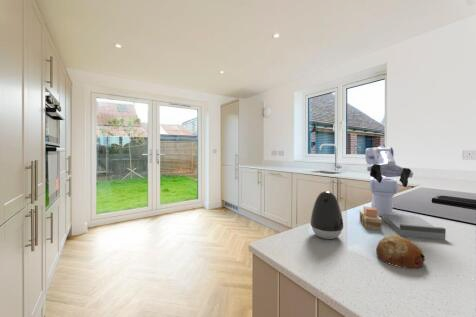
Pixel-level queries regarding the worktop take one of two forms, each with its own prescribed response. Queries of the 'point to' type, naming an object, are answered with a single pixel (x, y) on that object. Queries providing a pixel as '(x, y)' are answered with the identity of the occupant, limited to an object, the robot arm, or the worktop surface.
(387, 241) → the brown rounded lump
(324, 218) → the dark grey egg shape
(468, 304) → the worktop surface
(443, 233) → the dock
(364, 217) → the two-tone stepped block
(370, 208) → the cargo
